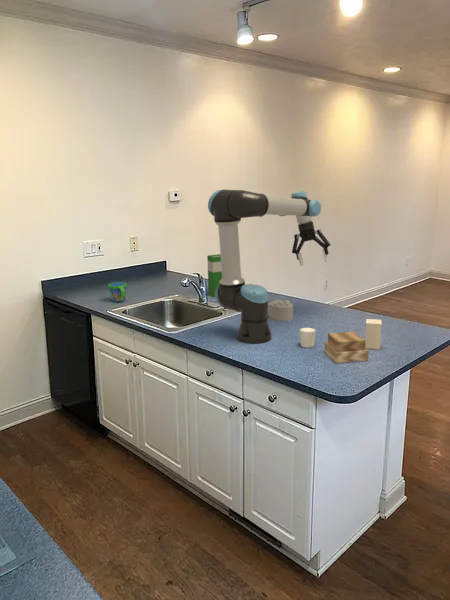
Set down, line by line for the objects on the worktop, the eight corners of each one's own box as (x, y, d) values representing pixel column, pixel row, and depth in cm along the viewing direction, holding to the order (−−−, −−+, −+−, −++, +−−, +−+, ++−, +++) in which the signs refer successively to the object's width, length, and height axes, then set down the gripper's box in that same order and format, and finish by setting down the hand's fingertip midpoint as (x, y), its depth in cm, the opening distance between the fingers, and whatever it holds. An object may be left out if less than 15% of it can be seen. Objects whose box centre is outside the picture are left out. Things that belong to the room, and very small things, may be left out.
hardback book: (234, 291, 309) (233, 252, 303) (239, 293, 303) (239, 254, 297) (208, 294, 301) (207, 255, 295) (213, 297, 295) (212, 257, 289)
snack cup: (131, 302, 287) (130, 285, 284) (113, 305, 282) (112, 287, 280) (123, 297, 300) (122, 280, 298) (106, 299, 296) (104, 282, 293)
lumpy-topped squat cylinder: (281, 313, 259) (281, 297, 257) (298, 319, 249) (298, 302, 247) (265, 316, 254) (265, 300, 252) (281, 322, 243) (281, 305, 241)
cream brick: (364, 348, 206) (366, 323, 203) (365, 343, 212) (366, 318, 209) (379, 349, 204) (381, 324, 202) (379, 344, 210) (381, 319, 207)
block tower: (335, 363, 191) (336, 343, 189) (324, 351, 204) (324, 332, 202) (367, 360, 193) (368, 341, 191) (354, 349, 205) (355, 330, 203)
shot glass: (304, 341, 216) (304, 326, 214) (318, 344, 212) (319, 329, 210) (296, 345, 211) (296, 330, 209) (310, 349, 206) (310, 333, 205)
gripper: (331, 216, 244) (340, 258, 248) (286, 226, 258) (295, 265, 262) (325, 218, 238) (334, 261, 241) (279, 228, 252) (289, 268, 255)
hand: (314, 263), depth 252 cm, fingers open, 13 cm apart
